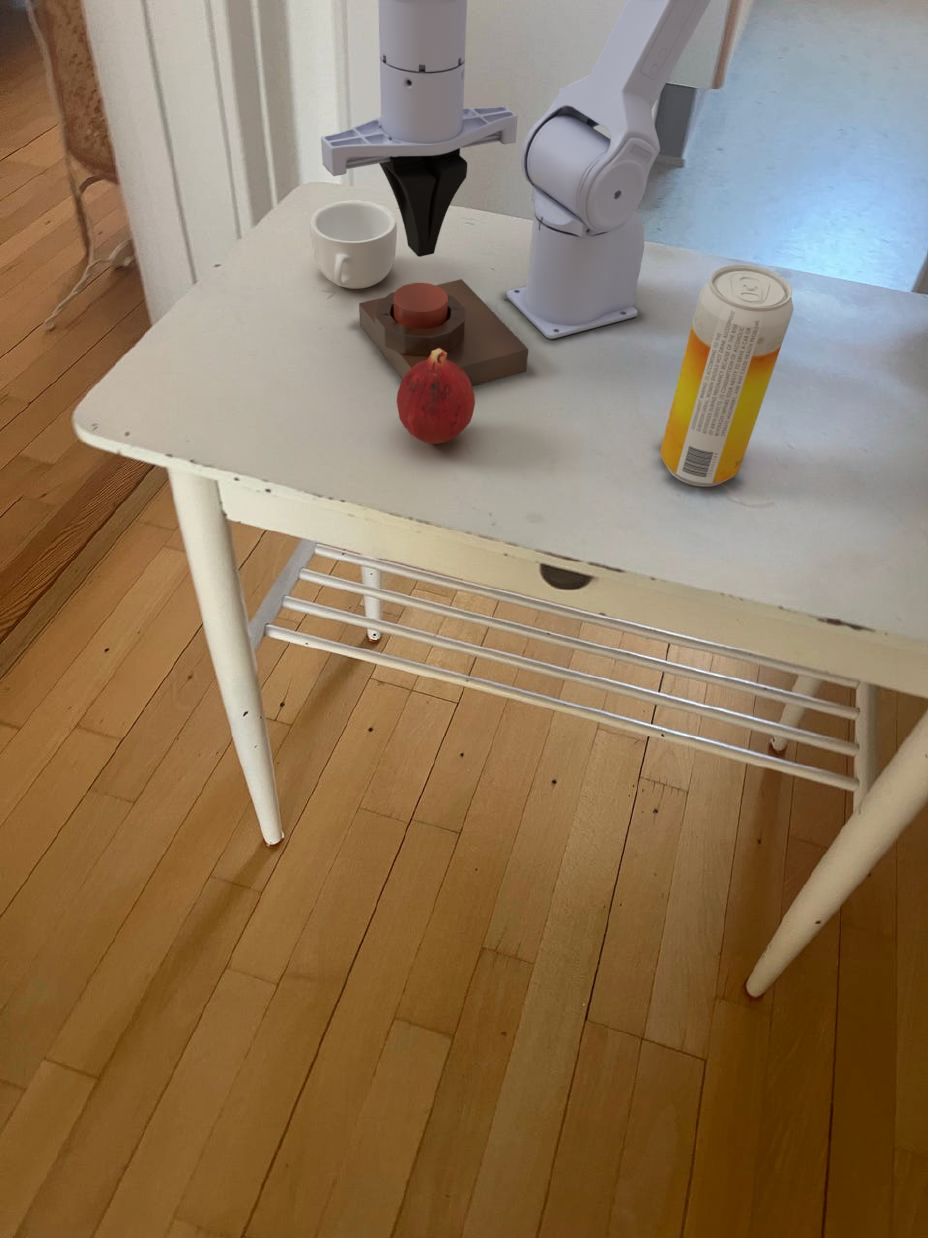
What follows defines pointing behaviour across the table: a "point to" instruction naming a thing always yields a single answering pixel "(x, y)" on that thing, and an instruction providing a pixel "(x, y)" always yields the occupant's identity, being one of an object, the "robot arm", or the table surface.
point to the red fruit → (435, 399)
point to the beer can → (725, 372)
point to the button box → (448, 337)
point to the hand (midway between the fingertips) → (421, 249)
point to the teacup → (354, 242)
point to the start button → (420, 305)
